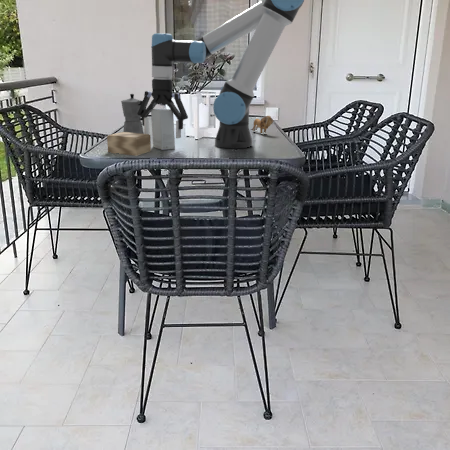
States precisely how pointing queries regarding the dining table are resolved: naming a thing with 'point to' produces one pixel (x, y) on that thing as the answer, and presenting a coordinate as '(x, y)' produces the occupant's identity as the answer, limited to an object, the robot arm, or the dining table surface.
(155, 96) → the robot arm
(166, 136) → the skincare box
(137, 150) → the oak block
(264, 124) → the lion figurine
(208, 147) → the dining table surface
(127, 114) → the coffeepot
